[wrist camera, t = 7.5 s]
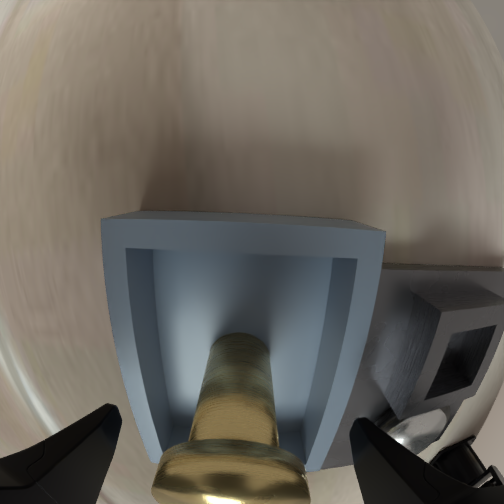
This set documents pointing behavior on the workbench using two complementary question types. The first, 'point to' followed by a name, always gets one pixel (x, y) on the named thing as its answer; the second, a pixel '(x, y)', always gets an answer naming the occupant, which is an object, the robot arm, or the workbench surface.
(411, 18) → the workbench surface
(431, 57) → the workbench surface
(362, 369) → the grey socket base
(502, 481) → the robot arm
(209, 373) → the pin
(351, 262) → the pin tray
